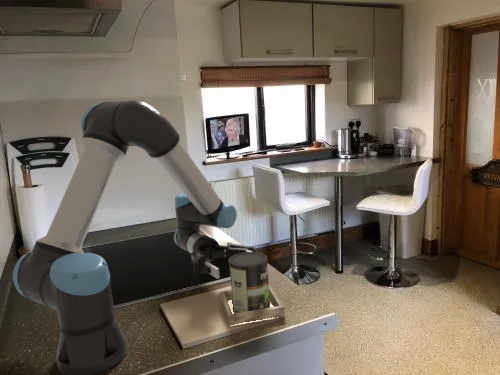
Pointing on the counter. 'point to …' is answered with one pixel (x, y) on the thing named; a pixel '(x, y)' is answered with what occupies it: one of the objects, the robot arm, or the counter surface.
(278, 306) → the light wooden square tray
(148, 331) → the counter surface
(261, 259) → the coffee can
